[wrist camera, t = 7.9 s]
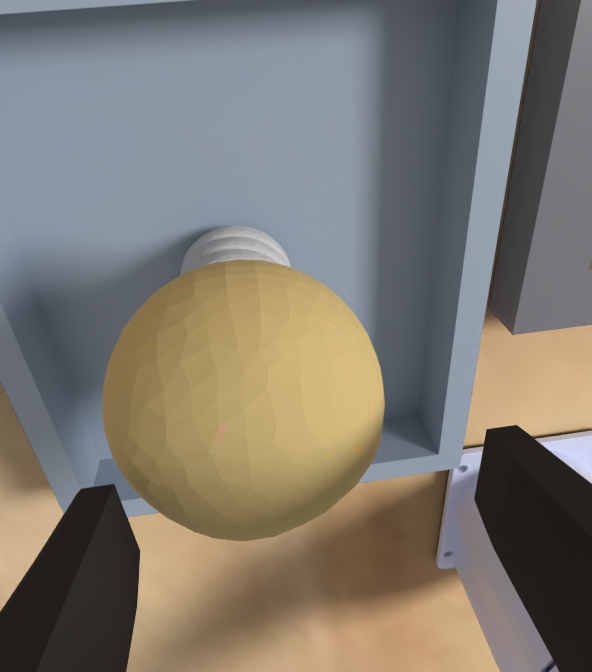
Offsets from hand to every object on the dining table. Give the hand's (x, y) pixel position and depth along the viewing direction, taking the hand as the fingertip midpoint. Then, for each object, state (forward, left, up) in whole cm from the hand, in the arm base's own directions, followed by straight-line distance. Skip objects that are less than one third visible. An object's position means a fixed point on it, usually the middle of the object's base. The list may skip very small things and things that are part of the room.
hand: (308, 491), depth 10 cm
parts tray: (0, +1, -10) cm, 10 cm away
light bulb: (0, +1, -10) cm, 10 cm away
